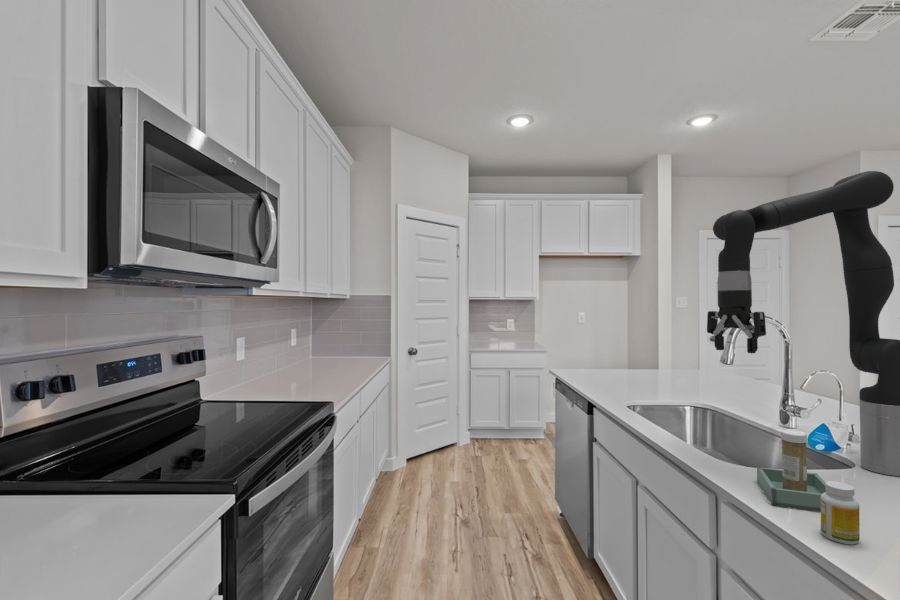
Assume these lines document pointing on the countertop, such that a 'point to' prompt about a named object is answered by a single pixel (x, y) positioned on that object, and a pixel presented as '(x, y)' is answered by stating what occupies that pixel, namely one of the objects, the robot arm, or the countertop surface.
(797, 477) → the amber pill bottle
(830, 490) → the supplement bottle
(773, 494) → the bin
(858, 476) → the countertop surface
